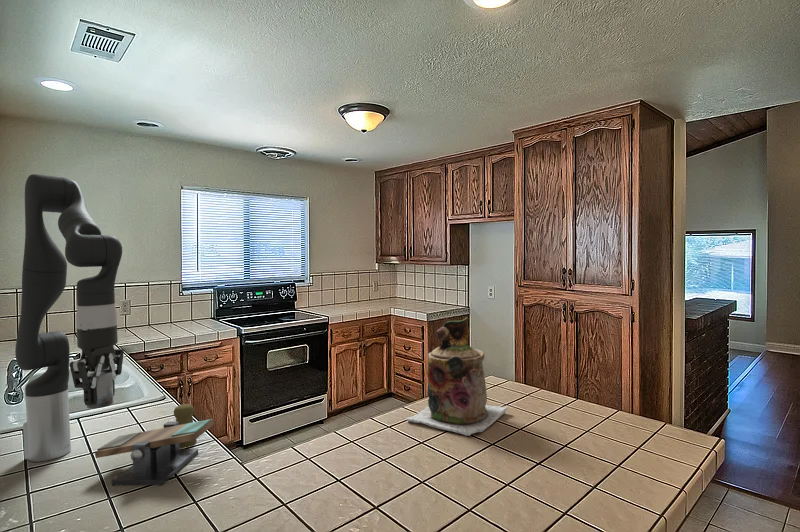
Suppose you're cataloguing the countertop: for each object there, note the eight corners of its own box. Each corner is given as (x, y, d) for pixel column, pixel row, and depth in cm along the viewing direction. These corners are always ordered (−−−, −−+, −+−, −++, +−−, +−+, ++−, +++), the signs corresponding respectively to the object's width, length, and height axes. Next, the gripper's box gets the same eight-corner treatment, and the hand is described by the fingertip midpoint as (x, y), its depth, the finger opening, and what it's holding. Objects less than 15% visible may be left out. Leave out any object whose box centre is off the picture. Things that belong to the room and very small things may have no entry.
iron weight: (81, 408, 100) (79, 376, 100) (97, 401, 105) (96, 370, 105) (102, 408, 100) (101, 376, 100) (118, 401, 105) (117, 370, 105)
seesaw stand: (111, 485, 107) (110, 447, 107) (155, 453, 124) (153, 420, 124) (161, 485, 106) (160, 447, 106) (198, 453, 124) (197, 420, 123)
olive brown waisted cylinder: (187, 448, 127) (186, 409, 126) (168, 447, 128) (166, 408, 128) (201, 439, 133) (199, 402, 132) (182, 438, 134) (181, 401, 133)
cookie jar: (443, 401, 162) (441, 311, 162) (509, 413, 148) (508, 315, 147) (403, 423, 142) (400, 320, 142) (475, 440, 128) (473, 325, 127)
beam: (95, 458, 111) (94, 450, 111) (122, 441, 121) (121, 434, 121) (195, 439, 109) (193, 432, 109) (214, 424, 119) (212, 417, 119)
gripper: (103, 320, 109) (106, 391, 110) (54, 330, 95) (58, 411, 95) (134, 320, 109) (136, 391, 109) (89, 330, 95) (92, 412, 95)
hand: (100, 400), depth 102 cm, fingers closed on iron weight, 5 cm apart
